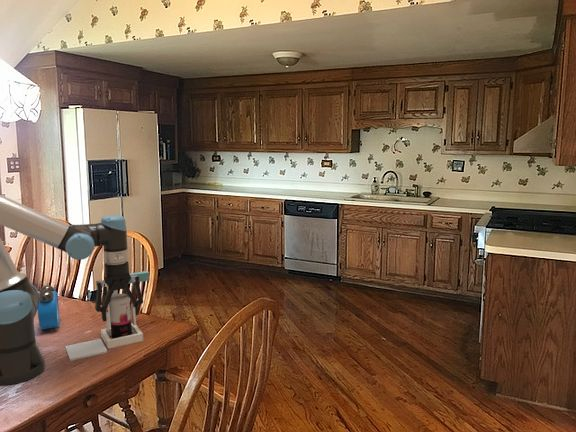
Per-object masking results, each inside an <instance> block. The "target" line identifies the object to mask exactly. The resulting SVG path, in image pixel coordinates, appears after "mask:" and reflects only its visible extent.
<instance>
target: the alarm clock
mask: <svg viewBox="0 0 576 432" xmlns="http://www.w3.org/2000/svg"><path fill="white" fill-rule="evenodd" d="M38 293H39V296H40V298H39V299H40V303H39V307H38V309H37V318H38V324H39V326H38V327H39V329H40V330H41V331H42V330H48V329H54V328H55V330H56V331H57V329H58V328H59V326H60V307H59V305H60V304H59V296H58V292H57V290H56V289H55V288H54V286H52V285H47V284H46V285H43V286H41V287H40V289H39V292H38Z"/></svg>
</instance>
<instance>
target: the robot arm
mask: <svg viewBox="0 0 576 432" xmlns="http://www.w3.org/2000/svg"><path fill="white" fill-rule="evenodd" d="M100 220H101V221H100V222H98V223H88V224H87V223H86V224H85V223H84V224H83V223H82V224H71V225H70V224H67V223H65V222H63V221H61V220H59V219H56V218H55V217H51V216H50V215H47V214H46V213H42V212H40V211H38V210H37V209H33V208H31V207H29V206H28V205H25V204H22V203H20V202H18V201H16V200H13V199H11V198H9V197H7V196H5V195H2V194H0V226H3V227H5V228H7V229H10V230H12V231H15V232H18V233H19V234H22V235H24V236H27V237H29V238H32V239H34V240H36V241H38V242H41V243H43V244H46V245H48V246H51V247H53V248H56V249H58V250H60V251H61V252H65V253H66V254H67V255H68V256H69V257H70V258H71V259H73V260H77V261H79V260H80V261H81V260H85V259H87V258H89V257H90V256H91V255H92V254H93V252H94V250H95V247H103V258H104V259H103V261H104V273H105V277H104V279H103V280H97V281H96V282H95V284H96V296H95V306H94V309H95V311H96V312H98V313H99V312H100V313H101V320H102V322H105V329H107V331H110V322H109V310H108V305H109V302H110V299H111V296H112V294H113V292H114V290H118V291H119V290H125V292H126V294H128V295H129V299H130V301H131V303H132V304H130V313H131V323H132V324H133V325H134V326H135V325H136V326H137V318H136V317H137V316H138V315H139V306H140V305H142V304H144V300H143V299H144V298H143V294H142V292H141V286H140V282H139V277H138V276H137V275H135V276H130V267H129V261H128V260H129V251H128V237H127V236H128V235H127V226H126V225H127V223H126V218H125V216H122V215H118V214H117V215H115V214H114V215H113V214H112V215H111V214H110V215H106V216H102V217H101V219H100ZM131 279H132V281H133V282H134V283H133V286H134V290H135V293H136V298H137V299H136V298H135V296H134V294H133V292H132V291H131V288H130V287H129V286H128V283H129V281H130V280H131ZM105 284H107V285H108V286H109V287H108V290H107V289H106V294H105V297H104V299H103V302H102V297H103V288H104V286H105ZM39 293H40V292H39V291H38V289H37V287H36V286H35V285H34V284H33V283H31V282H30V280H29V279H28V276H27V274H25V273H22V272H19V271H18V268H17V267H16V265H15V263H14V261H13V260H12V258H11V255H10V254H9V252H8V250H7V248H6V245H5V244H4V242H3V240H2V238H1V237H0V386H8V385H15V384H19V383H23V382H25V381H28V380H31V379H33V378H35V377H37V376H39V375H40V374H41V373H42V372H43V371H44V370H45V367H46V364H45V358H44V356H43V354H42V351H41V350H40V349H39V346H38V344H37V339H36V330H35V316H36V314H37V313H38V307H39V303H40V299H39V298H40V296H39Z"/></svg>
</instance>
